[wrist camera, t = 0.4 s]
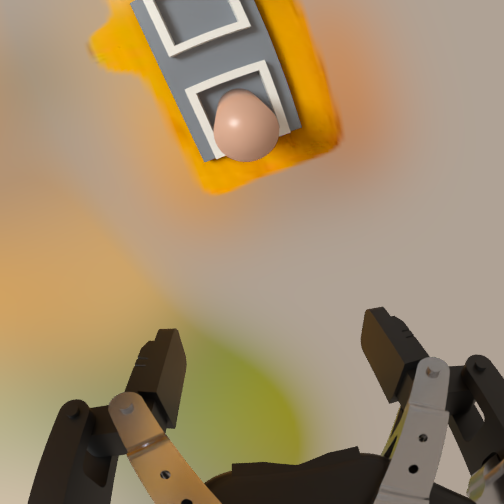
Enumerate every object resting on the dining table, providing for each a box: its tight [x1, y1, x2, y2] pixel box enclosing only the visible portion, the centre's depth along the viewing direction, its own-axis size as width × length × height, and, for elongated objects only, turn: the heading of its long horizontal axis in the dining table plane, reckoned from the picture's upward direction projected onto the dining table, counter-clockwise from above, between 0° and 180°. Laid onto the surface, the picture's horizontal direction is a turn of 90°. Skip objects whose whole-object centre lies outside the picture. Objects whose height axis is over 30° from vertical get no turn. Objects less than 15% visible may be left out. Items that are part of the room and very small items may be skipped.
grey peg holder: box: [130, 0, 302, 162], centre depth 21 cm, size 24×13×14 cm, turn 20°
